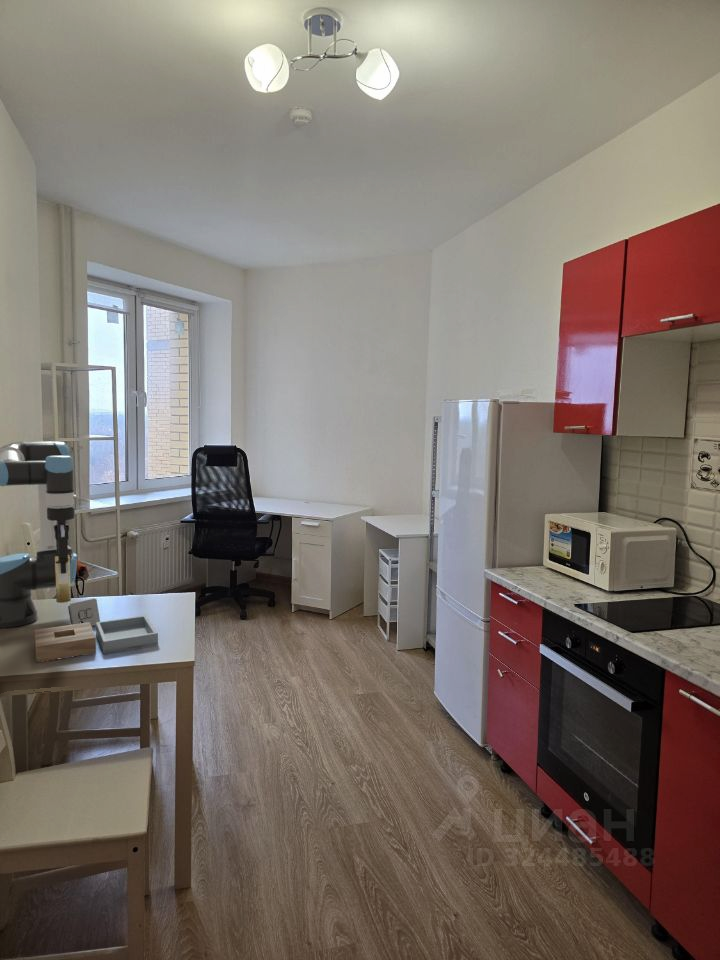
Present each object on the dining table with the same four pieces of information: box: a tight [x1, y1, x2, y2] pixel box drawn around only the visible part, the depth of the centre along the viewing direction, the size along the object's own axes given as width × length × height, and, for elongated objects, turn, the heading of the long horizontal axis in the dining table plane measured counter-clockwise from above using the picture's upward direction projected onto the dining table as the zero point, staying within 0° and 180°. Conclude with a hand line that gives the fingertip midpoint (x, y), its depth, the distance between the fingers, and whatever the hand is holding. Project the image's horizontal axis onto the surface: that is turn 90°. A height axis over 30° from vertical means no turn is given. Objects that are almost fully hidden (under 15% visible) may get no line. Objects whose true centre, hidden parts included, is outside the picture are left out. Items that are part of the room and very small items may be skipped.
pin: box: [55, 555, 72, 604], centre depth 183 cm, size 4×4×14 cm
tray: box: [95, 614, 159, 655], centre depth 194 cm, size 20×16×4 cm
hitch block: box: [34, 622, 97, 663], centre depth 185 cm, size 16×16×5 cm
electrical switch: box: [67, 598, 101, 627], centre depth 206 cm, size 9×5×9 cm, turn 141°
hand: (63, 581), depth 183 cm, fingers closed on pin, 4 cm apart
